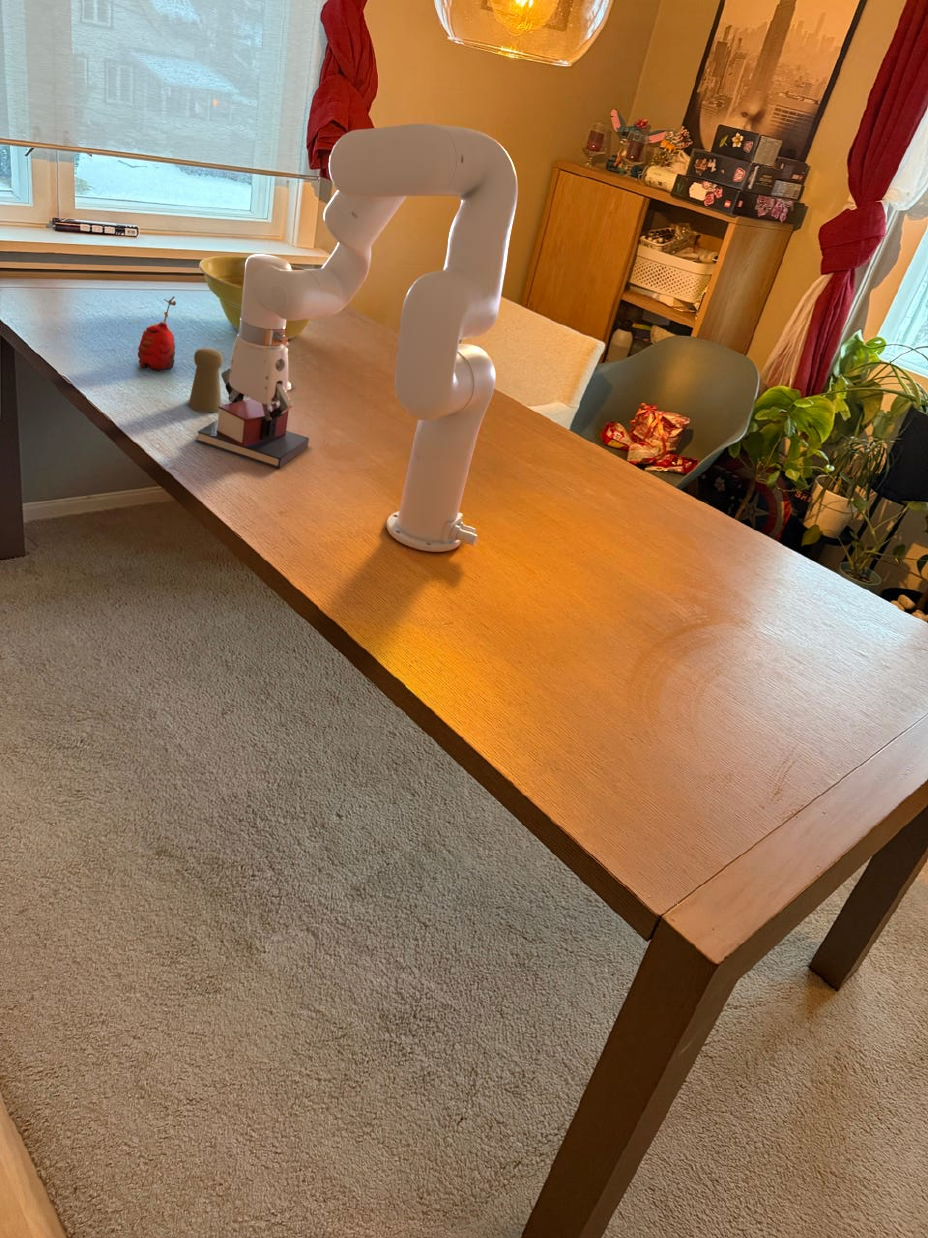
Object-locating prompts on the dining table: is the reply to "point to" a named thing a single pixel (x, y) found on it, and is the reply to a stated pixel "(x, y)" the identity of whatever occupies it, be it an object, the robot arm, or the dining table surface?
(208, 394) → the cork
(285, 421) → the pocket dictionary
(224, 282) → the planter bowl
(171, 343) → the red clay folk toy
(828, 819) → the dining table surface
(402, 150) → the robot arm
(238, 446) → the slate hardcover
